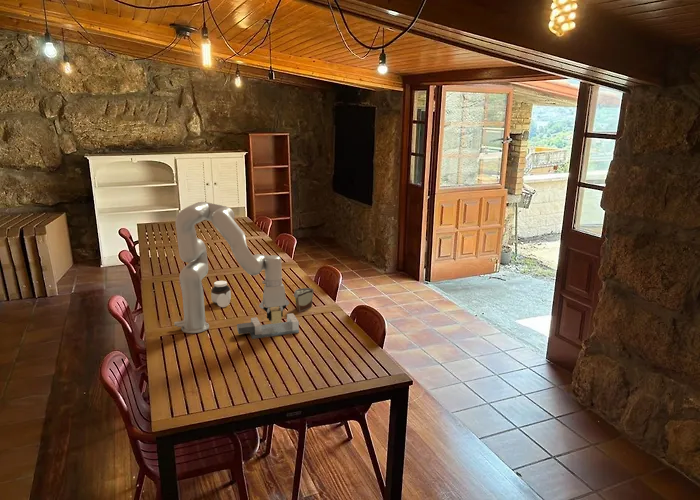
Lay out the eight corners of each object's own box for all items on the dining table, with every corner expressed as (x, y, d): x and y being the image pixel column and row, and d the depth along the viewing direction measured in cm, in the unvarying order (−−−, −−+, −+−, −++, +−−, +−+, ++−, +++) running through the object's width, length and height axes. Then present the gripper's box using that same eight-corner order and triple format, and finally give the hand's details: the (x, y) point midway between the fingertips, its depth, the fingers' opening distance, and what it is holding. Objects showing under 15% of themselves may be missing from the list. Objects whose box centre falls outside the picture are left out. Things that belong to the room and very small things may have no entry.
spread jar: (223, 298, 276) (222, 279, 273) (238, 302, 271) (237, 282, 268) (206, 305, 266) (205, 284, 263) (222, 309, 261) (221, 288, 258)
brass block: (271, 323, 229) (271, 311, 228) (268, 317, 237) (268, 305, 235) (281, 322, 231) (281, 310, 229) (277, 316, 238) (277, 304, 237)
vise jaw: (239, 336, 224) (239, 328, 223) (236, 327, 234) (235, 319, 233) (261, 334, 227) (261, 325, 226) (257, 324, 237) (257, 317, 236)
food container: (305, 303, 271) (305, 286, 268) (313, 306, 267) (313, 288, 265) (289, 309, 262) (288, 291, 259) (297, 312, 258) (297, 294, 255)
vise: (252, 339, 226) (251, 327, 225) (248, 329, 236) (247, 318, 235) (298, 332, 234) (298, 321, 232) (293, 323, 244) (293, 313, 242)
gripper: (256, 286, 223) (258, 324, 227) (293, 282, 228) (294, 319, 233) (254, 281, 229) (255, 318, 234) (289, 278, 235) (290, 314, 240)
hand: (274, 318), depth 233 cm, fingers closed on brass block, 4 cm apart
